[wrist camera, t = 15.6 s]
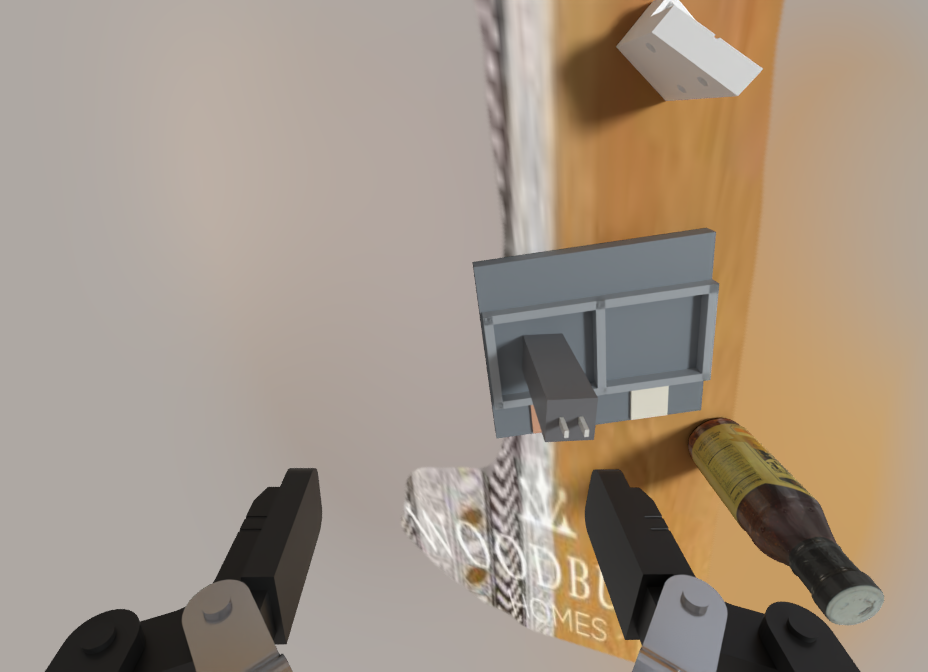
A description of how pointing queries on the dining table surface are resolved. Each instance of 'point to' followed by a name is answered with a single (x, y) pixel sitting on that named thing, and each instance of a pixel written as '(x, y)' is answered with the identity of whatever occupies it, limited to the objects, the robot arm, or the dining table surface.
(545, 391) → the plug
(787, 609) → the robot arm
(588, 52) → the dining table surface
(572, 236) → the dining table surface
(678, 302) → the grey tray
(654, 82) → the white wedge bracket
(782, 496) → the sauce bottle
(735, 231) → the dining table surface
